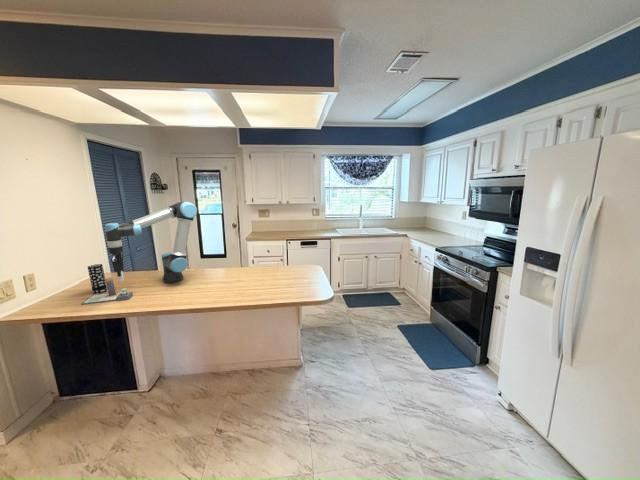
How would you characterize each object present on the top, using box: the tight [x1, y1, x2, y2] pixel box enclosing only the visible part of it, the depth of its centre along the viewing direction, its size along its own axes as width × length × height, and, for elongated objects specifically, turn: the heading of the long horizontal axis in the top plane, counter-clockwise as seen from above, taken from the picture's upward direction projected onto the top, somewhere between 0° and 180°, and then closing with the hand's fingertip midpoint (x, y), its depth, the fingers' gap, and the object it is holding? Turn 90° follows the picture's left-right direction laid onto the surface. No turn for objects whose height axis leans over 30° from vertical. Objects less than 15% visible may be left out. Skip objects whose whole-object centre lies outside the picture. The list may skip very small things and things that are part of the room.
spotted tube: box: [87, 263, 108, 295], centre depth 195 cm, size 8×8×20 cm
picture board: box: [81, 291, 122, 306], centre depth 185 cm, size 20×15×1 cm
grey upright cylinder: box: [105, 277, 117, 296], centre depth 187 cm, size 4×4×12 cm
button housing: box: [116, 291, 134, 302], centre depth 184 cm, size 7×7×3 cm
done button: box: [119, 287, 128, 295], centre depth 183 cm, size 4×4×4 cm
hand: (121, 280), depth 181 cm, fingers closed
